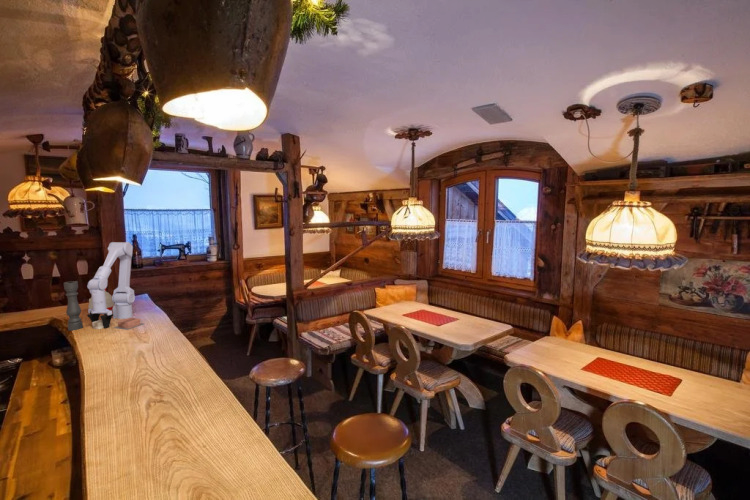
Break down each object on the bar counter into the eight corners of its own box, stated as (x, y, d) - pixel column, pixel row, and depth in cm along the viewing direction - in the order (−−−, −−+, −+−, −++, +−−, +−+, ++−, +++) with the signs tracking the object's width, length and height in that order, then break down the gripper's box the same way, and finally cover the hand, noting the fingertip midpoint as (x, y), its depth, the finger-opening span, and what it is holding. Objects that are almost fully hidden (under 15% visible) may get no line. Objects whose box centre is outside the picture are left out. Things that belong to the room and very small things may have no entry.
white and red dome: (82, 311, 229) (80, 287, 227) (101, 305, 242) (99, 282, 240) (102, 312, 227) (100, 288, 225) (121, 306, 240) (119, 283, 239)
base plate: (113, 330, 193) (113, 327, 193) (131, 324, 203) (131, 322, 203) (127, 332, 190) (127, 329, 190) (145, 326, 200) (145, 323, 200)
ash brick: (93, 331, 193) (92, 322, 192) (104, 327, 198) (103, 318, 198) (98, 332, 191) (97, 322, 191) (110, 328, 197) (109, 319, 196)
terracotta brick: (118, 327, 194) (117, 321, 194) (130, 323, 201) (130, 317, 200) (128, 328, 192) (127, 322, 192) (140, 324, 199) (139, 318, 198)
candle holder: (84, 328, 197) (79, 282, 194) (69, 331, 192) (63, 284, 189) (81, 326, 201) (77, 280, 198) (67, 328, 196) (62, 282, 193)
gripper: (81, 302, 191) (83, 328, 193) (101, 304, 187) (103, 331, 188) (95, 299, 198) (97, 324, 200) (115, 301, 193) (117, 326, 195)
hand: (101, 327), depth 195 cm, fingers open, 7 cm apart
